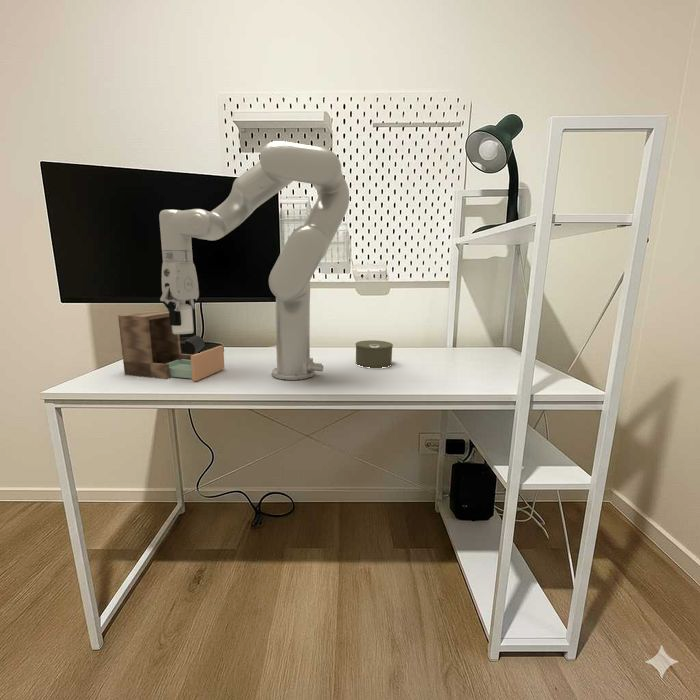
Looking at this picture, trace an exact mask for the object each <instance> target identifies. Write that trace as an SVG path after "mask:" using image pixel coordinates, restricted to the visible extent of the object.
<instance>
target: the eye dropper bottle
mask: <svg viewBox="0 0 700 700" xmlns="http://www.w3.org/2000/svg"><path fill="white" fill-rule="evenodd" d="M185 303H186V302H185V300H180V302H179V310H178V311H180V313H181V326H173V325H172V333H173V334H180V335H188V334H194V323H193V314H192V307H191V306H190V305H188V304H185ZM173 304H174V305H175V303H173Z"/></svg>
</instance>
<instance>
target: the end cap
mask: <svg viewBox="0 0 700 700" xmlns="http://www.w3.org/2000/svg"><path fill="white" fill-rule="evenodd" d="M205 345H206V344H205V341H204V339H203V338H202V337H201V336H200V335H198V334H197V335H193V336H185V337H184V336H183V337H180V346H181V354H192V355H194V354H197V353H198V352H199V351H200V350H201V349H202V348H203V347H204V348H205ZM204 348H203V349H204Z"/></svg>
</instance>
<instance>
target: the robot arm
mask: <svg viewBox="0 0 700 700" xmlns="http://www.w3.org/2000/svg"><path fill="white" fill-rule="evenodd" d="M293 182H297V183H304V184H310V185H312V186H313V187H314V189H315V190H316V191H317V200H316V201H315V203H314V205H313V206H312V208H311V210H310V212H309V215H308V217H307V218H306V220H305V222H304V224H303V225H300V226H298V227H297V228H295V229H294V230H293V231H292V232H291V234H290V235H289V237H288V238H287V240H286V242H285V244H284V246H283V248H282V250H281V252H280V253H279V256H278V257H277V260H276V261H275V263H274V265H273V267H272V269H271V270H270V274H269V276H268V286H269V289H270V292H271V293H272V294H273V296H275V341H276V342H275V343H276V344H275V345H276V348H275V349H276V350H275V351H276V367H275V368H273V369H272V370H271V376H272V377H273V378H275V379H279V380H284V379H285V381H287V380H289V381H299V380H305V379H309V377H310V378H312V377H314V376H315V375H316V372H321V373H322V372H323V371H324V368H325V367H324V364H322V363H319V362H318V363H317V362H316V363H315V362H314V358H313V357H311V343H310V342H311V339H310V337H311V336H310V335H311V331H310V330H311V329H310V327H311V326H310V321H311V313H310V311H311V310H310V309H311V308H310V307H311V279H312V277H313V276H314V273H315V271H316V270H317V268H318V266H319V264H320V262H321V260H323V259H324V258H325V256H326V255H327V253H328V250H329V247H330V245H331V244H332V241H333V239H334V238H335V236H336V234H337V232H338V229H339V228H340V226H341V224H342V221H343V220H344V218H345V216H346V214H347V211H348V208H349V206H350V205H349V204H350V190H349V186H348V183H347V181H346V179H345V176H344V175H343V172H342V164H341V161H340V159H339V157H338V156H337V154H336V153H334V151H332V150H330V149H328V148H325V147H321V146H316V145H308V144H304V143H303V144H302V143H296V142H290V141H284V140H273V141H270V142H268V143H266V144H265V145H264V146H263V147H262V148H261V150H260V154H259V161H258V162H257V163H255V164H254V165H253V166H252V167H251V168H249V169H247V170H246V171H245V172H243V173H242V174H241V175H239V176H238V177H236V178H235V179H234V181H233V183H232V188H231V191H230V193H229V195H228V197H226V199H225V200H224V201H223V202H221V204H219V205H217V206H216V207H215V208H214V209H212V210H211V211H208V210H206V209H202V208H192V209H184V210H181V209H163V210H162V209H161V210H160V212H159V215H158V216H159V217H158V219H159V228H160V229H159V231H160V241H161V244H160V245H161V254H162V255H161V256H162V263H161V292H162V294H161V296H160V298H159V300H160V302H161V303H162V304H163V305H164V307H165V308H166V311H169V318H170V325H173V326H181V313H180V311H178V310H179V302H180V300H185V302H186V303H185V304H188V305H190V306H191V307H192V314H193V324H194V323H195V311H194V310H195V308H196V305H195V304H196V303H197V300H198V299H199V297H200V289H199V281H198V275H197V271H196V270H197V269H196V266H195V263H194V260H193V257H194V256H193V249H192V248H193V246H192V244H193V243H192V242H193V241H192V238H193V239H194V238H196V239H198V240H207V241H217V240H220V239H222V238H224V237H225V236H226V235H228V234H229V233H231V232H232V231H234V230H235V229H236V228H237V227H239V226H241V224H242V223H244V221H246V219H248V218H249V217H250V216H251V214H253V212H254V211H255V210H256V209H257V208H259V207H260V206H261V205H263V204H264V203H265V202H267V201H268V200H270V199H271V198H273V196H275V195H276V194H278V193H280V191H282V190H283V189H285V188H286V187H288V186H289V185H290V184H291V183H293ZM174 304H175V305H174ZM298 379H299V380H298Z"/></svg>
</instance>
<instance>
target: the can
mask: <svg viewBox="0 0 700 700" xmlns="http://www.w3.org/2000/svg"><path fill="white" fill-rule="evenodd" d="M393 346H394V344H393V343H392V342H389V341H383V340H361V341H357V342H356V343H355V365H356V364H357V365H360V366H363V367H370V368H382V367H388V366H390V365H391V366H392V357H393ZM357 365H356V366H357ZM391 366H390V367H391ZM388 368H389V367H388Z"/></svg>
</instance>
